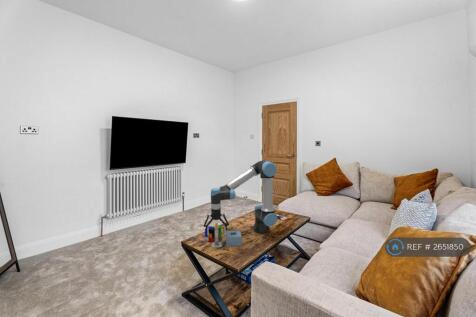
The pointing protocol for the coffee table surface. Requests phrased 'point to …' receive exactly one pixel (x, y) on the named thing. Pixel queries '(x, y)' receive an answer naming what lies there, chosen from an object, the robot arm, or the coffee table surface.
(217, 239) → the chuck key
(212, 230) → the puzzle toy
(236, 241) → the block
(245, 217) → the coffee table surface
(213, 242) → the tool mat
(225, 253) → the coffee table surface
